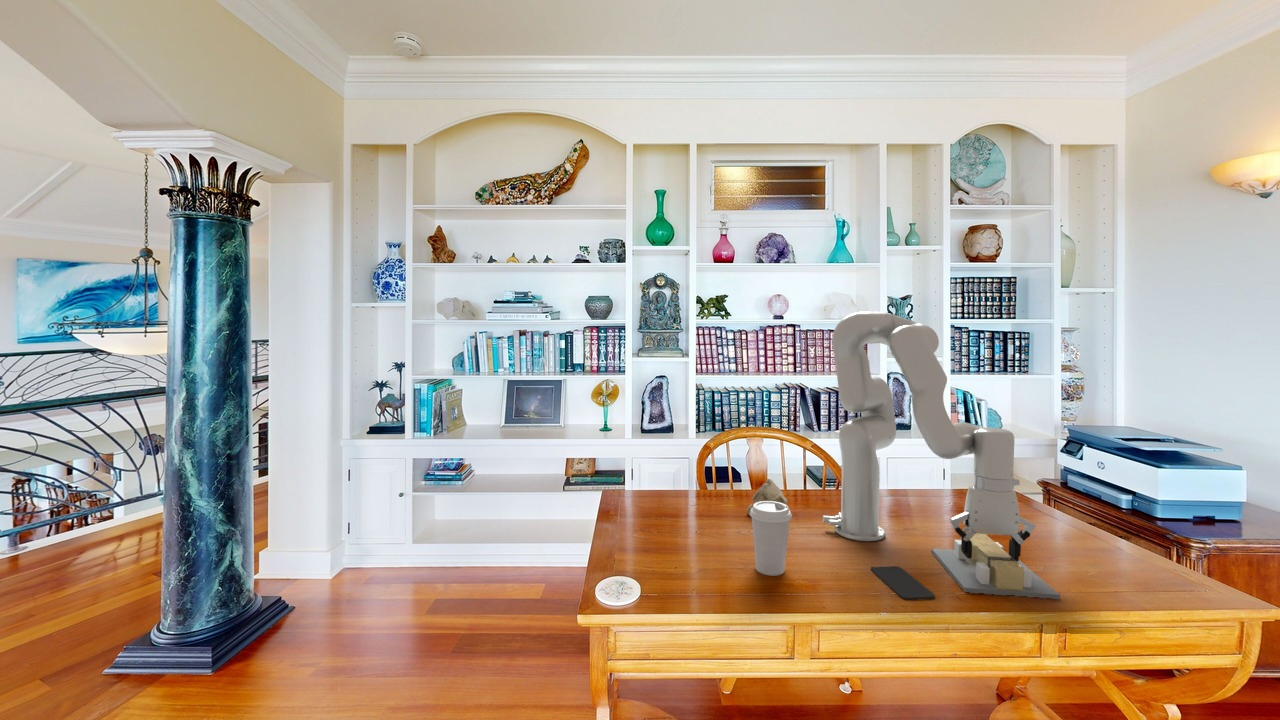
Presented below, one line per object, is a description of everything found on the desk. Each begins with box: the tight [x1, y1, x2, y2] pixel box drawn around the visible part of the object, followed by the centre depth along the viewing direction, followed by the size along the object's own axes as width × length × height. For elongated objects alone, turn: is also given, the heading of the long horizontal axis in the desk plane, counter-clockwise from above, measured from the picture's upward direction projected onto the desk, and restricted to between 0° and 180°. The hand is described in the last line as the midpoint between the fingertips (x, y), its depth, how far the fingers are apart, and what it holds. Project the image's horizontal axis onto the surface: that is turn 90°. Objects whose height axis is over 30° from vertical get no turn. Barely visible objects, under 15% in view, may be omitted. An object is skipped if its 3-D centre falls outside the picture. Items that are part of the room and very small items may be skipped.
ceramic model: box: [746, 478, 788, 516], centre depth 169 cm, size 14×11×10 cm
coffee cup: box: [749, 501, 793, 577], centre depth 129 cm, size 10×10×15 cm
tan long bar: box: [960, 533, 1024, 591], centre depth 126 cm, size 20×5×5 cm, turn 169°
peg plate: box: [931, 539, 1061, 600], centre depth 126 cm, size 18×21×4 cm
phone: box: [870, 565, 936, 601], centre depth 122 cm, size 7×1×15 cm
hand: (990, 557), depth 126 cm, fingers open, 9 cm apart
